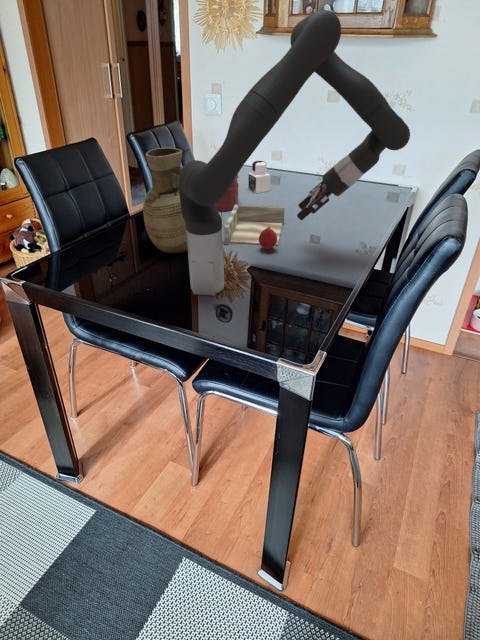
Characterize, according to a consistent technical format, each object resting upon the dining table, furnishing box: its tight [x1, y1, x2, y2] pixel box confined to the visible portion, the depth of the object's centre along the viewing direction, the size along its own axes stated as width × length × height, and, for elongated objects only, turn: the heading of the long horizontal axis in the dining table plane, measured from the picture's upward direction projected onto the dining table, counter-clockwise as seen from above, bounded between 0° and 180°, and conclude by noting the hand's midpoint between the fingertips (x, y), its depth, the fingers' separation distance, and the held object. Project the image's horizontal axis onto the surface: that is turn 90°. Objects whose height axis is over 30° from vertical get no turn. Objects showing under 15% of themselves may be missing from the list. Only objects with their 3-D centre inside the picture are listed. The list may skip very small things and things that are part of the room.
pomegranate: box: [259, 226, 277, 251], centre depth 136 cm, size 6×6×8 cm
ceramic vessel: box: [142, 147, 188, 254], centre depth 134 cm, size 19×21×30 cm
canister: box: [215, 173, 240, 212], centre depth 168 cm, size 13×13×18 cm
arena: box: [223, 204, 285, 246], centre depth 148 cm, size 21×18×6 cm
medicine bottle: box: [248, 160, 271, 194], centre depth 186 cm, size 7×7×12 cm
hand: (299, 212), depth 130 cm, fingers open, 8 cm apart
